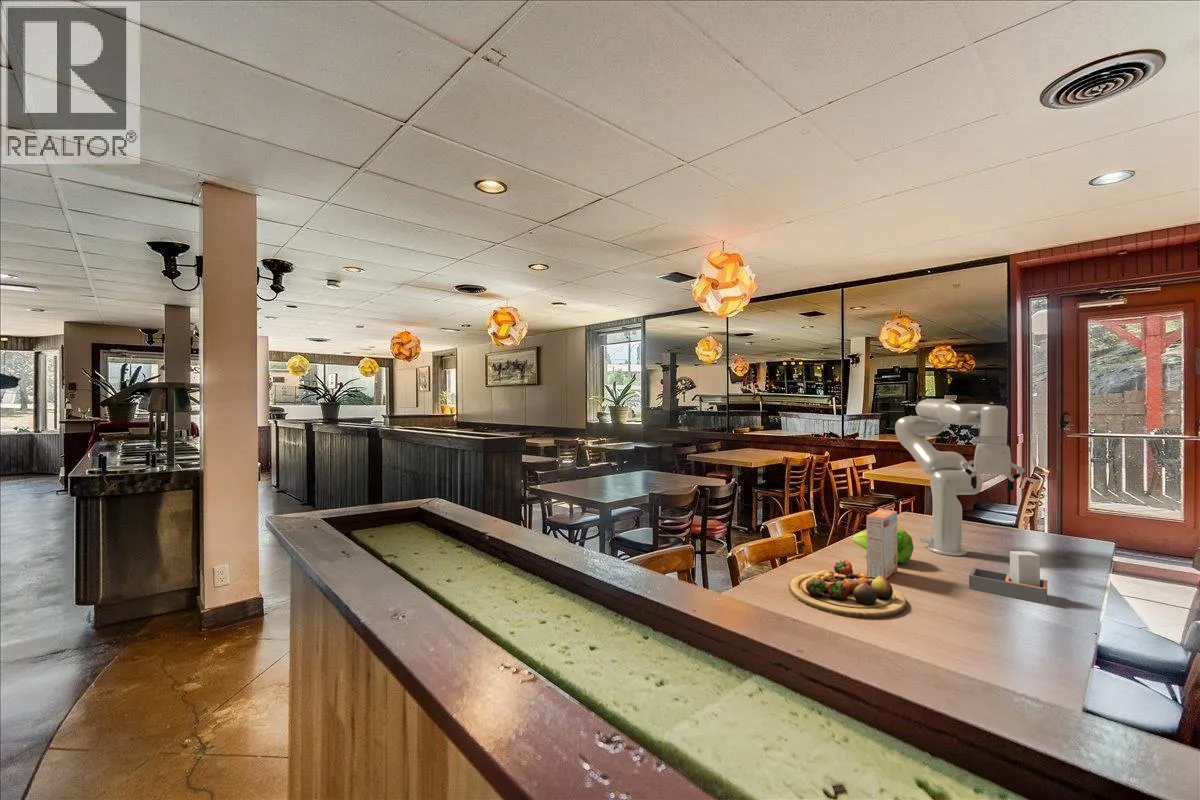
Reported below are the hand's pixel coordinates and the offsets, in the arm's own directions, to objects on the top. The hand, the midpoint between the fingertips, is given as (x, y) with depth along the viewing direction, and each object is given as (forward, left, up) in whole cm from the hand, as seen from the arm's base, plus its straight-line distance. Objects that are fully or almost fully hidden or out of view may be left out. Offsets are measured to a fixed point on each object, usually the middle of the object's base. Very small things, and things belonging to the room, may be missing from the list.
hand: (991, 490), depth 180 cm
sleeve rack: (+6, -22, -28) cm, 36 cm away
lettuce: (-31, -13, -28) cm, 44 cm away
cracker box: (-27, -31, -28) cm, 50 cm away
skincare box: (+10, -21, -27) cm, 36 cm away
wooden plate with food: (-30, -59, -29) cm, 72 cm away
